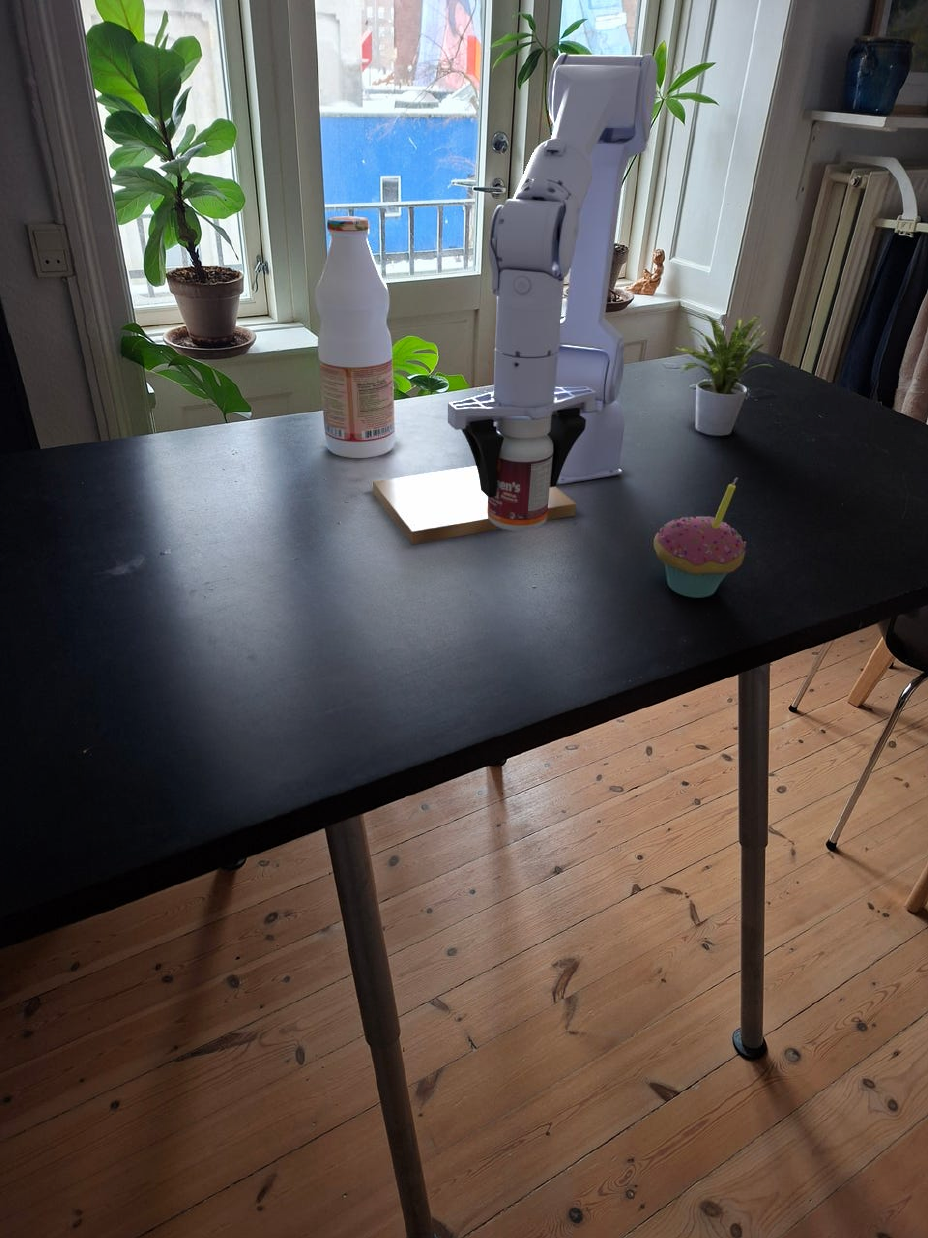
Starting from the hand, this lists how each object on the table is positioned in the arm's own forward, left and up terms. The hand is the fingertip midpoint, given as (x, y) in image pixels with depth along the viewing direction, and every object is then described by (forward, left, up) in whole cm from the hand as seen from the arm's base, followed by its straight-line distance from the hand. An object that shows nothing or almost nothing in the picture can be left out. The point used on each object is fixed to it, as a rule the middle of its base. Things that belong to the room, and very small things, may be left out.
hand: (518, 488), depth 80 cm
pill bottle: (0, 0, -4) cm, 4 cm away
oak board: (-1, -13, -8) cm, 16 cm away
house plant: (-45, -25, -8) cm, 52 cm away
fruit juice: (+6, -35, -8) cm, 37 cm away
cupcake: (-14, +12, -8) cm, 20 cm away
